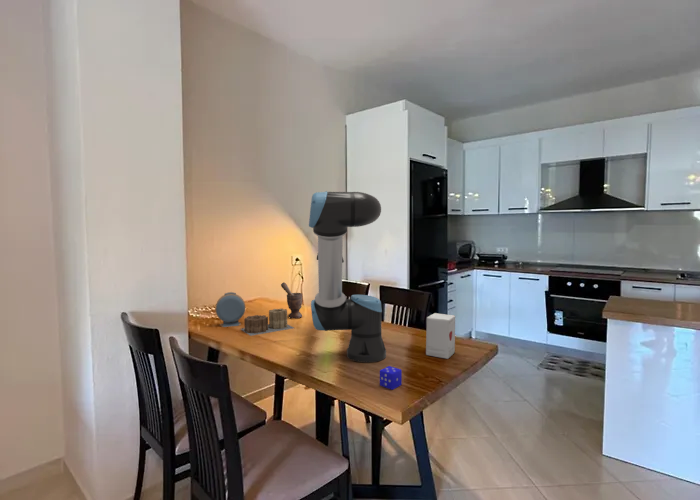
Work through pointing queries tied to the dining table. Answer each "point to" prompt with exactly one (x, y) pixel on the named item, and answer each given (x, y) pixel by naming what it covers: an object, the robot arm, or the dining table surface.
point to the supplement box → (440, 335)
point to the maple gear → (278, 318)
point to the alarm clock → (230, 309)
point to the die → (390, 377)
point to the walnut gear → (256, 324)
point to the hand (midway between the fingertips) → (329, 276)
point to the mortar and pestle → (293, 302)
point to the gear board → (269, 330)
